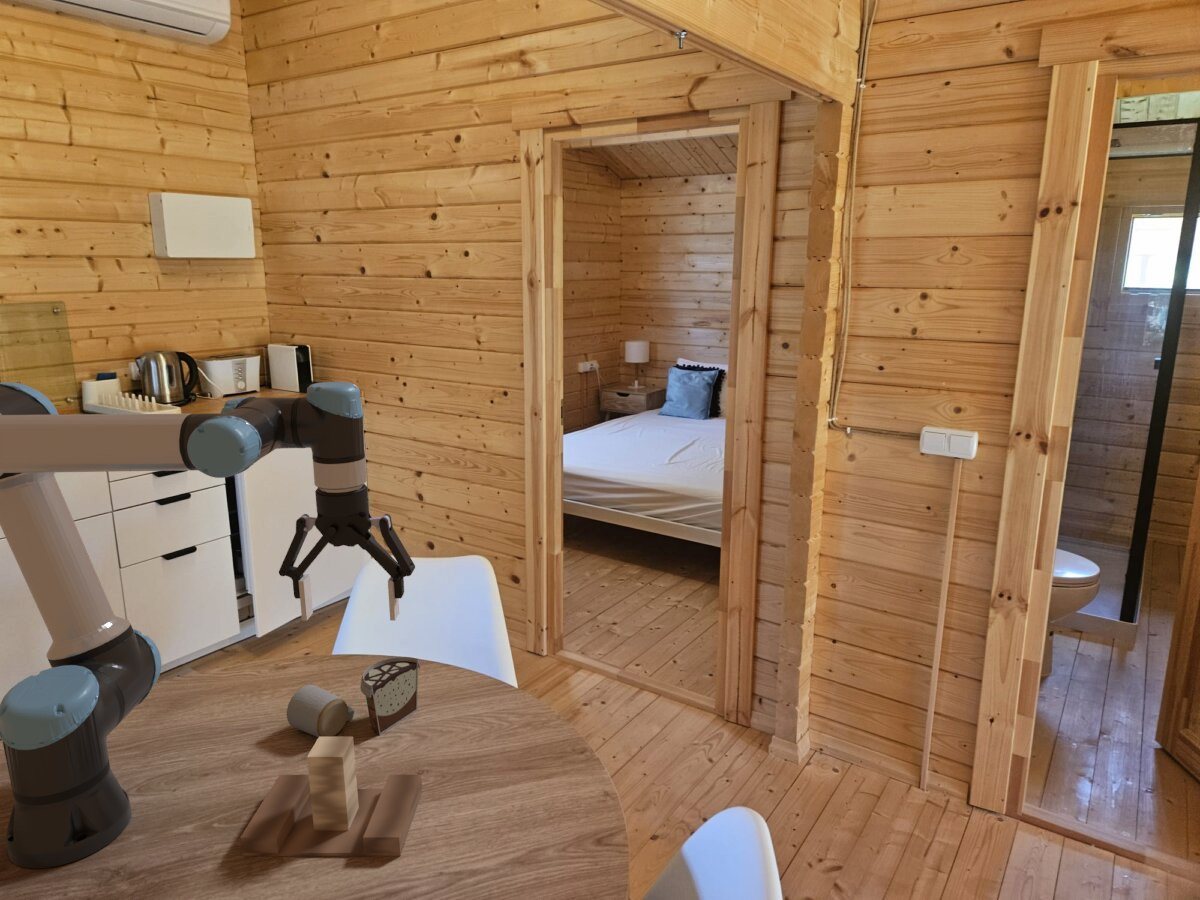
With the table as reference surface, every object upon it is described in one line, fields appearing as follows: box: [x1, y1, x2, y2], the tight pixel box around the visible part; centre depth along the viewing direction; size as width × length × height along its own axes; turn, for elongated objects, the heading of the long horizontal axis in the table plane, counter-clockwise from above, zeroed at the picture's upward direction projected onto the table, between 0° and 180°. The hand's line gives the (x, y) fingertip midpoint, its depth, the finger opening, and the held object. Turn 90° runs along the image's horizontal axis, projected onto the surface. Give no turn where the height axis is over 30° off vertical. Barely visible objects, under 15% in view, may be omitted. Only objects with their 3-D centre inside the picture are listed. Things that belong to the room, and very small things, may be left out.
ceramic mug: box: [286, 684, 356, 738], centre depth 143 cm, size 11×8×8 cm
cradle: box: [240, 774, 423, 857], centre depth 119 cm, size 22×14×3 cm, turn 90°
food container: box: [359, 656, 421, 736], centre depth 145 cm, size 12×6×10 cm, turn 149°
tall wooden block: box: [306, 736, 359, 830], centre depth 118 cm, size 5×5×12 cm
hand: (351, 617), depth 126 cm, fingers open, 13 cm apart
